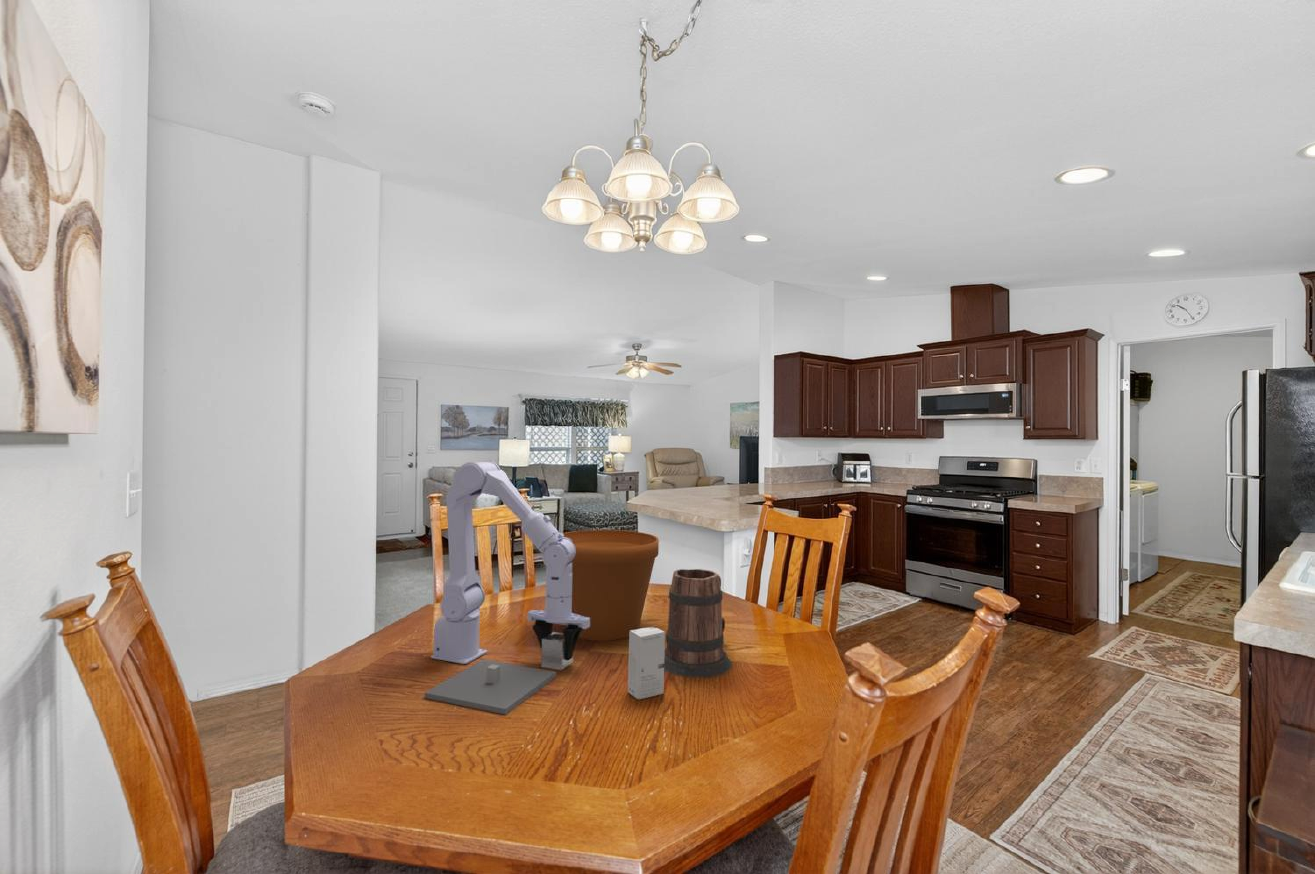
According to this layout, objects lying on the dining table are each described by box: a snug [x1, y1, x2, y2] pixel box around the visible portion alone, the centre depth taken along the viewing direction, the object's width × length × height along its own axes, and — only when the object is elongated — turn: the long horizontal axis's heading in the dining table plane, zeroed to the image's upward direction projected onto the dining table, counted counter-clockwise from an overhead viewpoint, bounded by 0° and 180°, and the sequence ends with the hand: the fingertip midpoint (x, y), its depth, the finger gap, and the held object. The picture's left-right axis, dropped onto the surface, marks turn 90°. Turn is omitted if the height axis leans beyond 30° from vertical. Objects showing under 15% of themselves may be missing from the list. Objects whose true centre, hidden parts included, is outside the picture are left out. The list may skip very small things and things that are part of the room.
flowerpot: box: [561, 529, 660, 641], centre depth 154 cm, size 28×28×24 cm
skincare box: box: [627, 626, 666, 700], centre depth 115 cm, size 6×4×12 cm
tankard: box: [664, 568, 733, 679], centre depth 134 cm, size 24×17×20 cm
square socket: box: [540, 631, 574, 671], centre depth 129 cm, size 5×5×6 cm
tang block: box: [423, 659, 557, 716], centre depth 117 cm, size 18×18×4 cm
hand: (557, 656), depth 129 cm, fingers closed on square socket, 5 cm apart
